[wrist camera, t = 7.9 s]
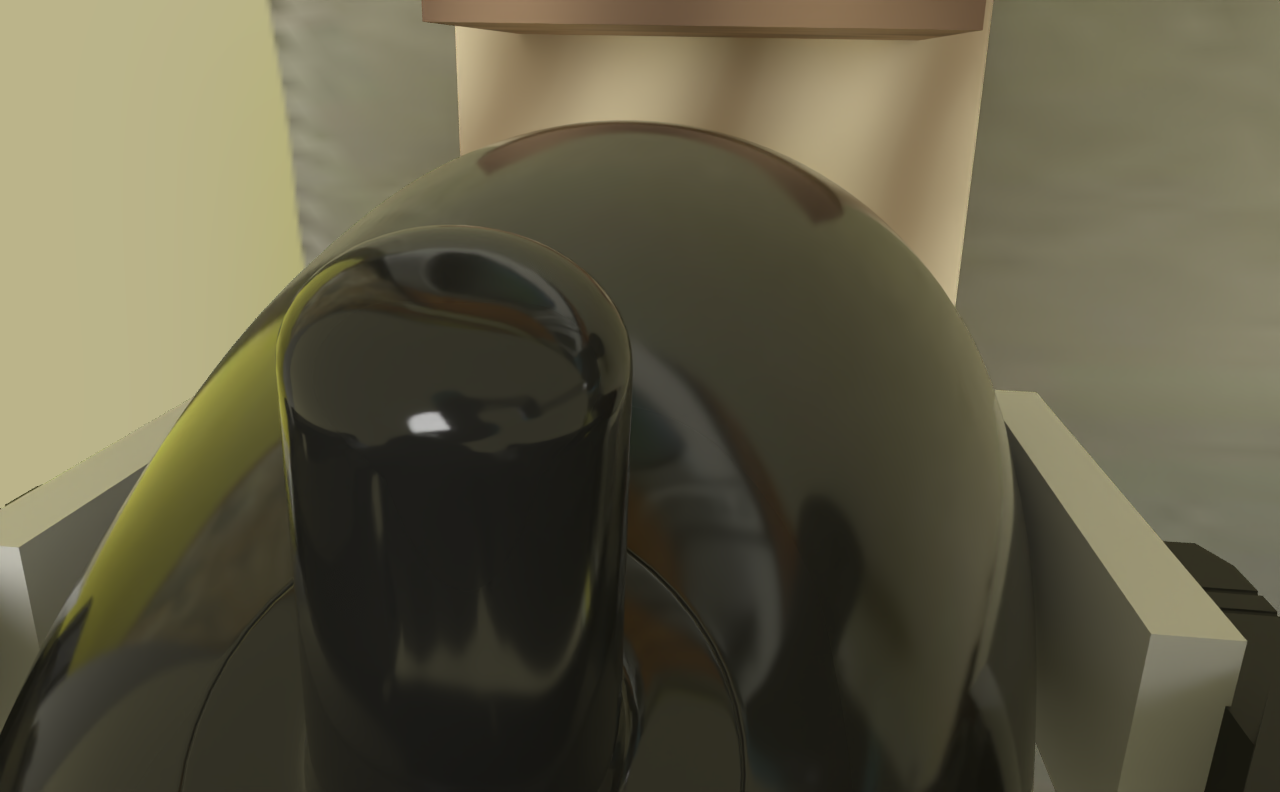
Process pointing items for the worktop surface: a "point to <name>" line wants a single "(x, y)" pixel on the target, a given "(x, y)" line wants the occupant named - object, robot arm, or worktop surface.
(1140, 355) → the worktop surface
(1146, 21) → the worktop surface
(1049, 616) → the robot arm
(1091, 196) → the worktop surface
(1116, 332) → the worktop surface
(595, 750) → the pump dispenser
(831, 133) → the caddy
